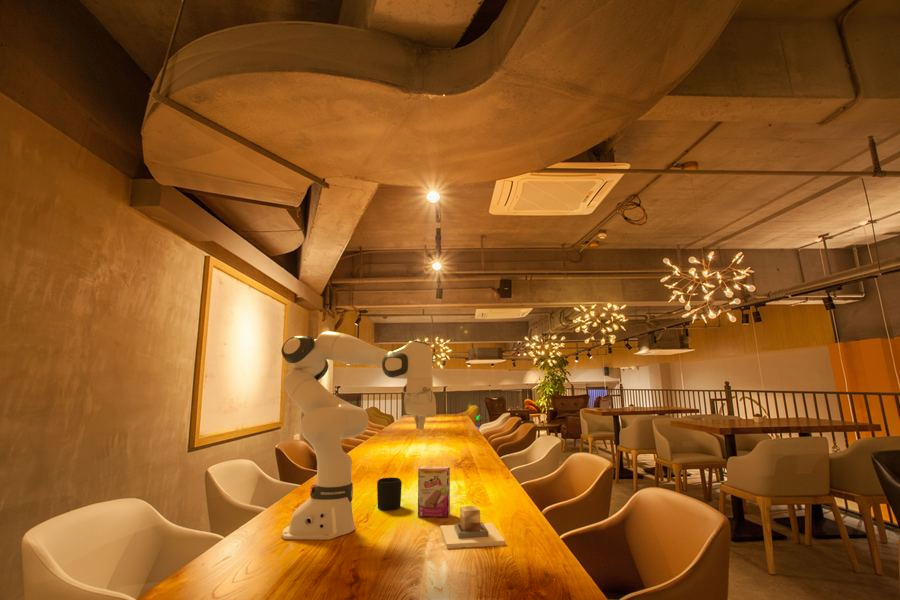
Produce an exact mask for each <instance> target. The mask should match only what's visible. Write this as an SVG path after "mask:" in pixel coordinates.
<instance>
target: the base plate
mask: <svg viewBox="0 0 900 600" xmlns="http://www.w3.org/2000/svg"><path fill="white" fill-rule="evenodd" d="M439 528H440V534H441V536H442V539H443V542H444V544H445V548H446V549H447V548H450V549H464V548H463V547H466V548H478V547H494V546H495V547H498V546H506V540H505V539H504V537H503V536H502V534H501V533H500V532H499V530H498V529H497V528H496V526H495V525H494V524H493V522H485V523H484V522H482V521H480V529H481V531H466V532H461V530H460V522H459V523H453V524H448V525H447V524H446V525H439ZM497 545H498V546H497ZM461 547H462V548H461Z"/></svg>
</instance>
